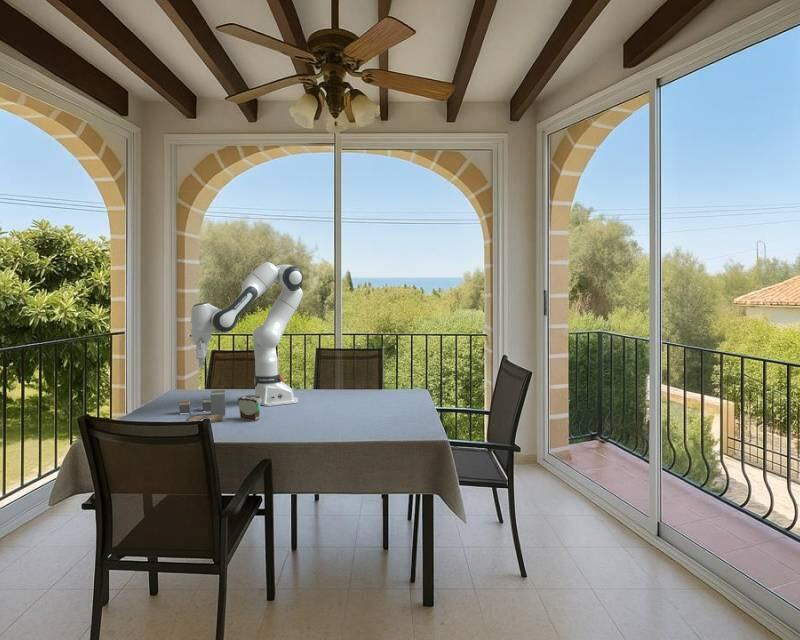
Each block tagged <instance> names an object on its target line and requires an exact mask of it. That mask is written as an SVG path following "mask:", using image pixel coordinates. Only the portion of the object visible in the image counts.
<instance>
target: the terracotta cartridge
mask: <svg viewBox="0 0 800 640" xmlns="http://www.w3.org/2000/svg"><path fill="white" fill-rule="evenodd" d="M178 405H179V407H178V409H179V411H178V412H179V414H180V413H190V414H191V399H179V401H178Z"/></svg>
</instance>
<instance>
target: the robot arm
mask: <svg viewBox="0 0 800 640" xmlns="http://www.w3.org/2000/svg"><path fill="white" fill-rule="evenodd" d="M303 281H304V274H303V272H302V270H301V269H300V268H299V267H297V266H294V265H292V264H284V263H278V264H274V263H272V262H268V261H266V262H263V263H262V264H260V265H258V266H257V267H256V268H255V269H253V270H252V271H251V272H250V273H249V275H247V276H246V278H245V279H244V281H243V282H242V283H241V292H240V294H239V295H238V297H236V298H235V300H234V301H233V302H232V303H231V304H230V305H229V306H228V307H227V308H225V309H222V308H218V307H216V306H215V305H212V304H210V303H209V302H199V303H196V304H194V305H193V306H192V307H191V311H190V313H191V314H190V323H191V331H190V332H191V335H190V336H191V338H190V339H191V342H193V345H195V347H196V349H195V350H196V351H195V353H196V354H195V356H196V360H198V368H199V369H204V366H205V361H206V357H207V354H208V349H209V348H208V347H209V344H210V343H209V342H211V341H212V330H213V329H216V330H217V331H218V332H221V333H229V332H230V331H232V330H233V329H234V328H235V327H236V325H237V322H238V319H239V317H240V316H241V315H242V314H243V312H244V311H246V309H247V308H248V307H249V306H250V305H251V304H252V302H254V301H255V300H256V299H258V298H259V297H261V296H262V295H263V294H264V293H266V291H267V290H268V289H269V288H270V287H271V286H272V285H273V284H276V285H279V286H281V292H280V294H279V295H278V296H277V298H276V299H275V301H274V302H273V304H272V306H271V307H270V309H269V311H268V313H267V316H266V318H265V320H264V322H263V324H262V325H259V326H257V327H256V328H255V329H254V330H253V332H252V343H253V346H252V347H253V353H254V354H253V355H254V360H255V361H254V366H255V367H254V370H255V374H254V378H253V380H254V387H255V389H254V395H257V396H260V398H261V400H262V402H261V403H260V406H265V407H271V406H273V407H274V406H279V405H280V406H282V405H290V404H296V403H298V402H299V398H298V397H297V396H295V394H294V391H293V389H292V387H291V386H289V385H288V384H286V383H285V382H283V381H284V375H281V374H279V369H278V368H279V366H278V365H279V364H278V361H279V359H278V356H277V354H278V353H277V349H276V347H277V346H278V345H279V343H280V341H281V338H282V337H283V335H284V332H285V330H286V327H287V325H289V324H288V323H289V321H290V320H291V318H292V317H293V315H294V313H295V312H296V311H297V308H298V307H299V305H300V303H301V300H302V298H303V294H304V291H303V289H302V286H303V285H302V284H303Z"/></svg>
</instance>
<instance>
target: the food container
mask: <svg viewBox="0 0 800 640" xmlns="http://www.w3.org/2000/svg"><path fill="white" fill-rule="evenodd" d="M237 402H238V408H239V418H240V419H241V420H246V421H252V422H258V421H259V420H260V413H261V411H260V410H261V405H260V403H261V402H262V400H261V398H260V396H257V395H255V394H246V395H239V396H238V397H237Z"/></svg>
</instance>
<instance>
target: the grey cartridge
mask: <svg viewBox="0 0 800 640" xmlns="http://www.w3.org/2000/svg"><path fill="white" fill-rule="evenodd" d="M203 411H206V412H211V396H205V397H202V412H203Z"/></svg>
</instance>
